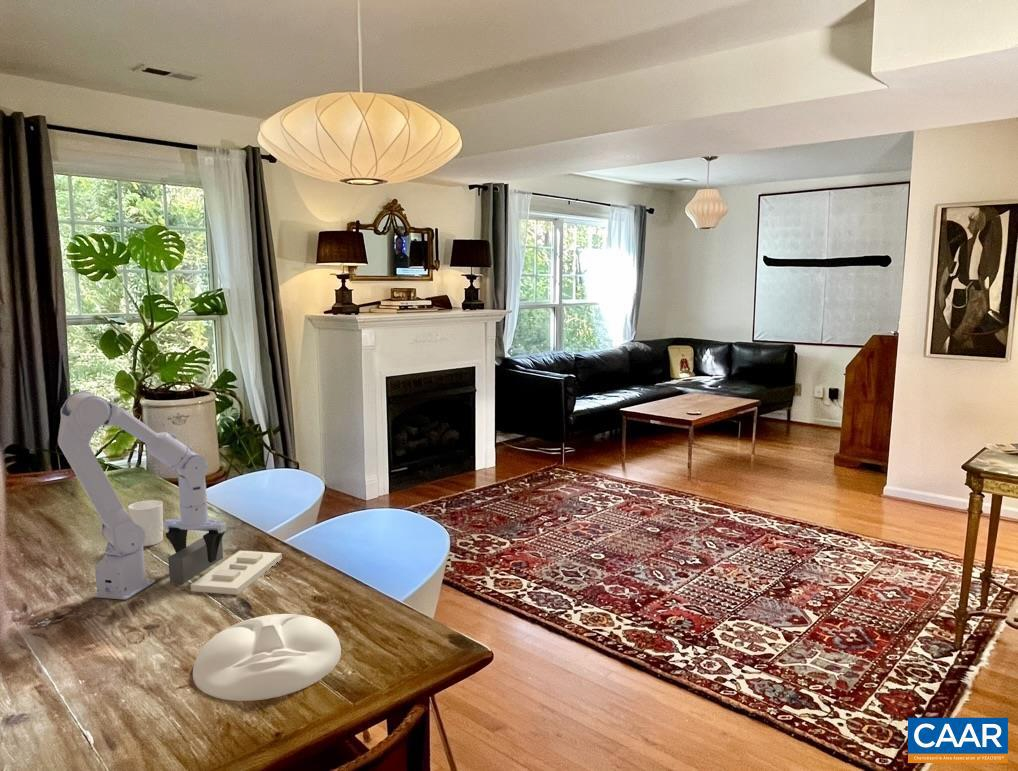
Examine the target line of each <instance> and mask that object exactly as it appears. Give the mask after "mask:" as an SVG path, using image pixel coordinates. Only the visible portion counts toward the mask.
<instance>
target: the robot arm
mask: <svg viewBox="0 0 1018 771" xmlns="http://www.w3.org/2000/svg"><path fill="white" fill-rule="evenodd" d="M103 425H104V426H108V427H110V426H111V427H112V426H113V427H119V428H121V429H122V430H124V431H125V432H126V433H128V434H130V435H131V436H133V437H135V438H136V439H138V440H139V441H141V442H143V443H145V444H146V447H147V449H146V450H147V453H148V454H149V455H150V456H152V457H153V458H155V459H156V460H158V461H160V462H161V463H163V464H164V465H166V466H167V467H168V468H171V469H173V471H174V472H175V473H176V474H178V475H177V478H178V479H177V480H178V497H179V512H180V513H179V514H180V518H169V519H166V520H163V530H166V531H167V532H165V537H166V539H167V540H168V541H169V542H170V544H171V546H172V547H173V549H174V551H175V553H177V552H179V551H180V550H182V549H184V548H185V547H187V536H188V531H201V532H207V533H205V534H203V535H202V538H204V541H205V543H206V547H207V556H208V562H210V563H211V562H213V561H215V560H216V557H217V552H218V547H219V544H220V541H221V539H222V540H223V537H224V535H225V533H226V531H227V522H225V521H219V520H215V519H212V518H209V513H208V499H207V498H208V496H207V482H206V475H207V474H208V472H209V470H210V465H209V464H208V462H207V459H206V458H205V457H204V456H202V455H201V454H198V453H196V452H194V448H193V447H192V446H191V445H188V446H187V445H185V444H184V443H183V442H181V441H180V440H178V439H177V438H178V435H177V434H174V433H173V432H170V433H168V432H166V431H162V432H156V431H155V430H153V429H152V428H151V427H149V426H148V425H146V424H145V423H144V422H142V421H141V420H140V419H138V418H137V417H135V416H134V415H133V414H132V413H130V412H128V411H127V410H126V409H124V408H122V407H121V406H119V405H116V404H114V403H112V402H110V401H108V400H106V399H105V398H103V397H101V396H99V395H95V394H93V393H91V392H89V391H84V390H81V391H80V390H79V391H76V392H74V393H72V394H70V395H69V396H68V397H67V399H66V400H65V402H64V404H62V406H61V408H60V423H59V428H58V435H57V444H58V446H59V448H60V450H61V451H62V453H63V455H64V457H65V459H66V460H67V463H68V464H69V466H70V467H71V469H72V472H73V473H74V475H75V477H76V478H77V480H78V481H79V483H80V485H81V486H82V489H83V491H84V492H85V494H86V495H87V497H88V500H89V501H90V503H91V505H92V506H93V508H94V510H95V512H96V513H97V516H98V517H97V518H98V520H99V522H100V524H101V536H102V538H103V539H104V540H105V541H107V545H106V546H105V553H104V556H103V557H102V559H101V560H100V561H98V562H97V564H96V566H95V569H94V574H95V584H96V586H95V587H96V593H95V594H94V595H93V598H101V599H112V600H114V599H115V600H123V601H124V600H129V599H130V598H132V597H133V596H135V595H136V594H139V593H140V592H141V591H142V590H144V589H146V588H147V587H149V586H150V585H153V584H154V583H155V582H156V580H155V579H151V578H146V568H145V566H146V565H145V554H144V553H145V552H144V546H143V543H144V541H145V532H144V530H143V528H142V527H140V526H139V525H137V524H135V523H134V522H133V520H132V518H131V517H130V515H129V512H127V509H126V508H124V506H123V503H121V500H120V498H119V497H118V495H117V493H116V491H115V489H114V488H113V486H112V484H111V482H110V481H109V479H108V477H107V475H106V473H105V471H104V470H103V468H102V465H101V464H100V463H99V460H98V459H97V456H96V455H95V453H94V451H93V449H92V447H91V445H90V441H91V440H92V438H93V436H94V434H95V433H96V432H97V430H98V429H100V428H101V427H102V426H103Z"/></svg>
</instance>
